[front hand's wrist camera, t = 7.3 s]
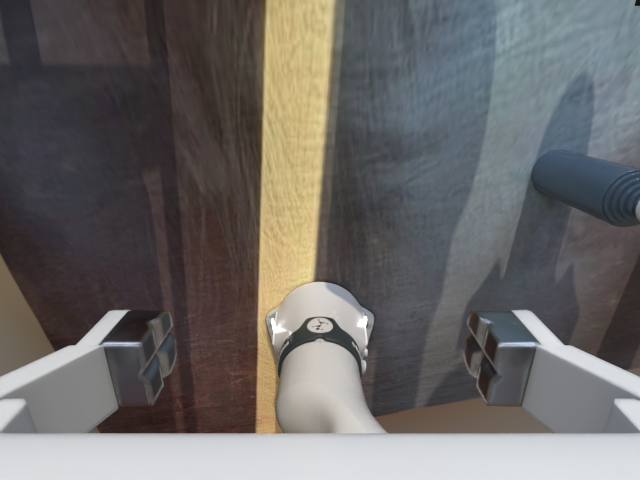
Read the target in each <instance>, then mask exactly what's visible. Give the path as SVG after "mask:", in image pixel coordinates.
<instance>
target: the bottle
mask: <svg viewBox="0 0 640 480" xmlns="http://www.w3.org/2000/svg"><path fill="white" fill-rule="evenodd" d="M532 182H533V185H534V187H535V188H536V189H537V190H538V191H539V192H541V193H543V194H545V195H547V196H550V197H552V198H554V199H556V200H558V201H561V202H563V203H565V204H567V205H569V206H572V207H574V208H576V209H578V210H580V211H583V212H585V213H587V214H589V215H591V216H594V217H596V218H598V219H600V220H602V221H605V222H607V223H609V224H611V225H614V226H618V227H628V226H635V225H638V224H640V221H639V220H638V219H637V217H636V207H637V204H638V202H639V201H640V169H639V168H635V167H631V166H627V165H623V164H619V163H614V162H610V161H606V160H602V159H598V158H594V157H589V156H585V155H581V154H577V153H573V152H569V151H564V150H555V151H551V152H549V153H547V154H545V155H544V156H542V157H541V158H540V159H539V160H538V161H537V163H536V164H535V166H534V168H533V171H532Z"/></svg>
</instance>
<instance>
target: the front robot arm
mask: <svg viewBox="0 0 640 480" xmlns="http://www.w3.org/2000/svg"><path fill="white" fill-rule="evenodd" d="M266 324H267V327H268V331H269V334H270V337H271V341H272V345H273V348H274V351H275V354H276V358H277V361H278V375H279V379H280V380H279V387H278V394H277V402H276V417H277V420H278V423H279V426H280V428H281V429H282V431H283V433H88V432H90V431H91V430H92V429H93V428H95V427H96V426H97V425H98V424H100V423H101V422H102V421H103V420H105V419H106V418H107V417H109V416H110V415H111V414H112V413H114V412H115V411H116V410H117V409H119V407H125V406H153V405H154V403H155V401H156V399H157V398H158V396H159V394H160V392H161V390H162V388H163V387H164V385H163V378H165V377H166V376H168V375H169V374H170V373H171V371H172V369H173V367H174V365H175V360H176V356H177V345H176V339H175V338H174V337H173V336H172V335H171V334H170V333H169V331H170V329H171V328H172V326H173V321H172V317H171V314H170V313H169V312H168V311H150V310H112V311H109V312H108V313H107V314H106V315H105V316H104V317H103V318H102V319H101V320H100V321H99V322H98V323H97V324H96V325H95V326H94V327H93V328H92V329H91V330H90V331H89V332H88V333H87V334H86V335H85V336H84V337H83V338H82V339H81V340H80V341H79V342H78V343H77V344H76V345H75V346H67V347H65V348H63V349H61V350H58V351H56V352H54V353H52V354H50V355H47V356H45V357H43V358H41V359H39V360H36V361H34V362H32V363H30V364H28V365H25V366H23V367H21V368H19V369H17V370H14V371H12V372H10V373H8V374H6V375H3V376H1V377H0V480H640V377H639V376H636V375H634V374H632V373H630V372H628V371H625V370H623V369H621V368H619V367H617V366H614V365H612V364H610V363H608V362H606V361H604V360H601V359H599V358H597V357H595V356H593V355H590V354H588V353H586V352H584V351H582V350H579V349H577V348H575V347H573V346H565V345H564V344H563V343H562V342H561V341H560V340H559V339H558V338H557V337H556V336H555V335H554V334H553V333H552V332H551V331H550V330H549V329H548V328H547V327H546V326H545V325H544V324H543V323H542V322H541V321H540V320H539V319H538V318H537V317H536V316H535V315H534V314H533V313H532V312H531V311H529V310H508V311H471V312H470V314H469V316H468V321H467V326H468V328H469V329H470V331H471V333H470V334H469V335H468V336H467V337H466V338H465V339H464V346H463V354H464V361H465V364H466V367H467V369H468V371H469V373H470V374H471V375H472V376H474V377H475V378H477V385H476V387H477V388H478V390H479V392H480V394H481V396H482V398H483V399H484V401H485V403H486V405H487V406H516V407H521V408H522V409H523V410H524V411H525V412H527V413H528V414H529V415H530V416H532V417H533V418H534V419H535V420H537V421H538V422H539V423H540V424H542V425H543V426H544V427H545V428H547V429H548V430H549V431H550V432H552V433H387V432H386V431H385V430H384V429H383V428H382V426H381V425H380V424H379V423H378V422H377V421H376V419H375V418H374V417H373V415H372V414H371V412H370V411H369V409H368V407H367V404H366V401H365V397H364V394H363V389H362V385H361V375H362V374H365V370H366V361H365V360H363V358H364V357H367V354H368V350H367V349H366V348H367V345H368V341H369V337H370V334H371V331H372V327H373V324H374V315H373V314H372V313H371V312H370V311H368V310H367V309H365V308H363V307H362V306H361V305H360V304H359V303H358V302H357V300H356V299H355V298H354V296H353V295H352V294H351V293H350V292H348V291H347V290H346V289H344V288H342V287H340V286H338V285H336V284H332V283H327V282H313V283H308V284H304V285H302V286H300V287H298V288H296V289H294V290H293V291H292V292H290V293H289V294H288V295H287V296H286V298H285V299H284V300H283V302H282V303H281V304H280V306H279V307H277V308H275V309H273V310H272V311H270V312H269V313H268V314H267V315H266ZM366 324H368V325H366Z"/></svg>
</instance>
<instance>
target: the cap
mask: <svg viewBox="0 0 640 480" xmlns="http://www.w3.org/2000/svg"><path fill="white" fill-rule="evenodd" d="M636 217H637V219H638V220H639V221H640V201H639V202H638V204H637V207H636Z"/></svg>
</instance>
